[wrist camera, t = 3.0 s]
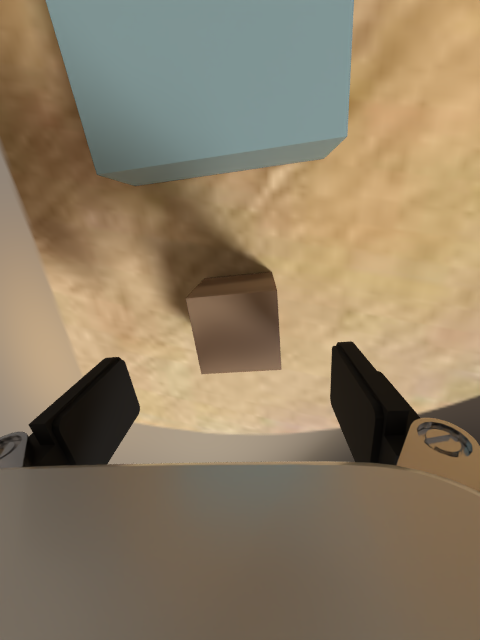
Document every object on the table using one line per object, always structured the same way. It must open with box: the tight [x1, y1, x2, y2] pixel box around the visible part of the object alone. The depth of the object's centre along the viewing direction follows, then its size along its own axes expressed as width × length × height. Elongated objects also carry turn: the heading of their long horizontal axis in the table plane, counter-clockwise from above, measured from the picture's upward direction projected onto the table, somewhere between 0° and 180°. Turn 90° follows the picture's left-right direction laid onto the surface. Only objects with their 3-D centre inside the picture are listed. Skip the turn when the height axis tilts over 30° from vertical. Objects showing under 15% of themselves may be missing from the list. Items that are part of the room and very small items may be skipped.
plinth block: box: [46, 0, 354, 186], centre depth 11 cm, size 12×12×4 cm
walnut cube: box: [186, 272, 281, 374], centre depth 16 cm, size 5×5×5 cm
